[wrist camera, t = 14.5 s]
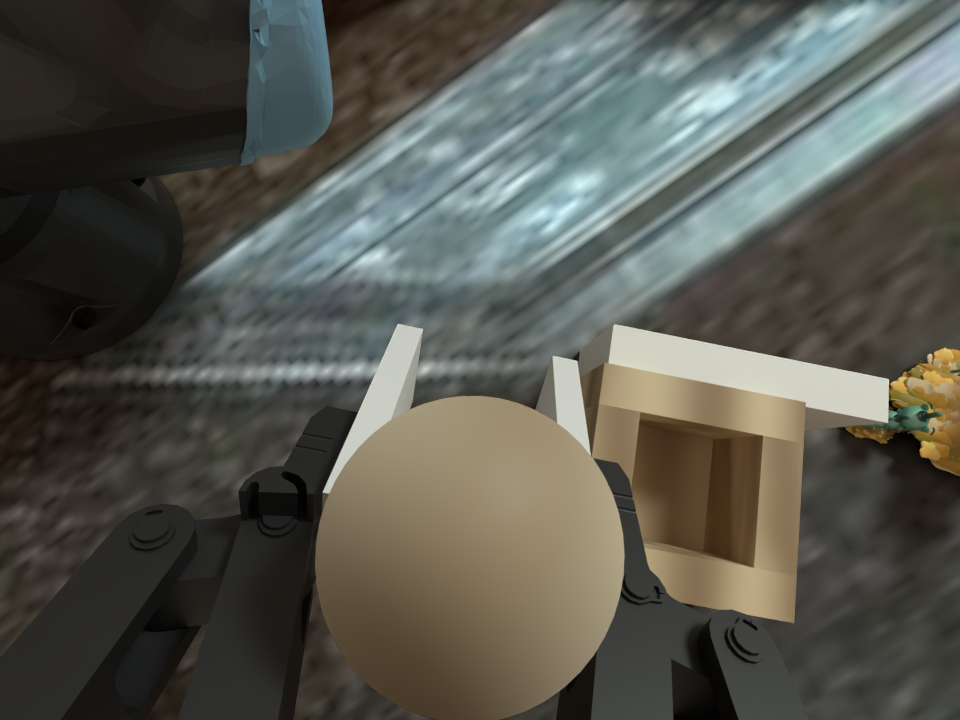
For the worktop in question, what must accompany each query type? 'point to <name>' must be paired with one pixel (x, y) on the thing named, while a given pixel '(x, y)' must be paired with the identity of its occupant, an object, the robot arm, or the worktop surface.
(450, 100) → the worktop surface
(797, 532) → the block
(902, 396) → the green yellow irregular piece
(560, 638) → the dowel
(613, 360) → the backstop
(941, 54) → the worktop surface
